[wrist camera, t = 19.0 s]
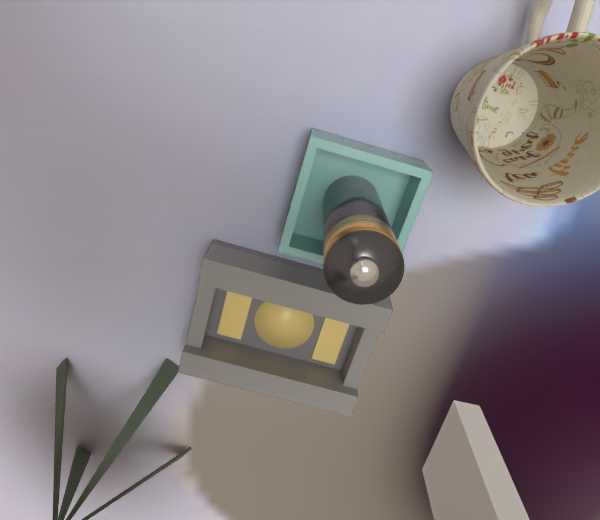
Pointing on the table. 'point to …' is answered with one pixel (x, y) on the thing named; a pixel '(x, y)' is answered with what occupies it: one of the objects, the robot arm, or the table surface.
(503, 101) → the mug
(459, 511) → the robot arm
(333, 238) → the aa cell
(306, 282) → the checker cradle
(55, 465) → the camera
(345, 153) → the tray
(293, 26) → the table surface
